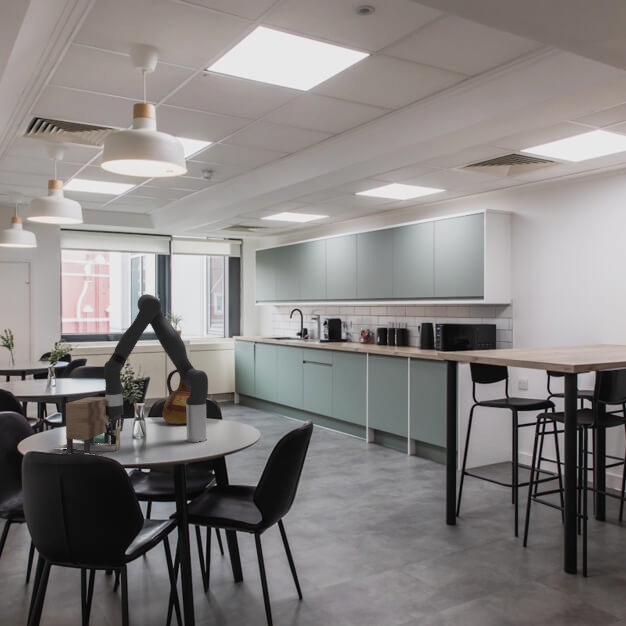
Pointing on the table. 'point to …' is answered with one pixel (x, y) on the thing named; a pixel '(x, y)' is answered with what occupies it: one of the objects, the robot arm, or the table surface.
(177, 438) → the table surface
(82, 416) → the walnut cabinet
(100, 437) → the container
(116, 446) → the plank with tan block
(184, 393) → the ceramic pitcher
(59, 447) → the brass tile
